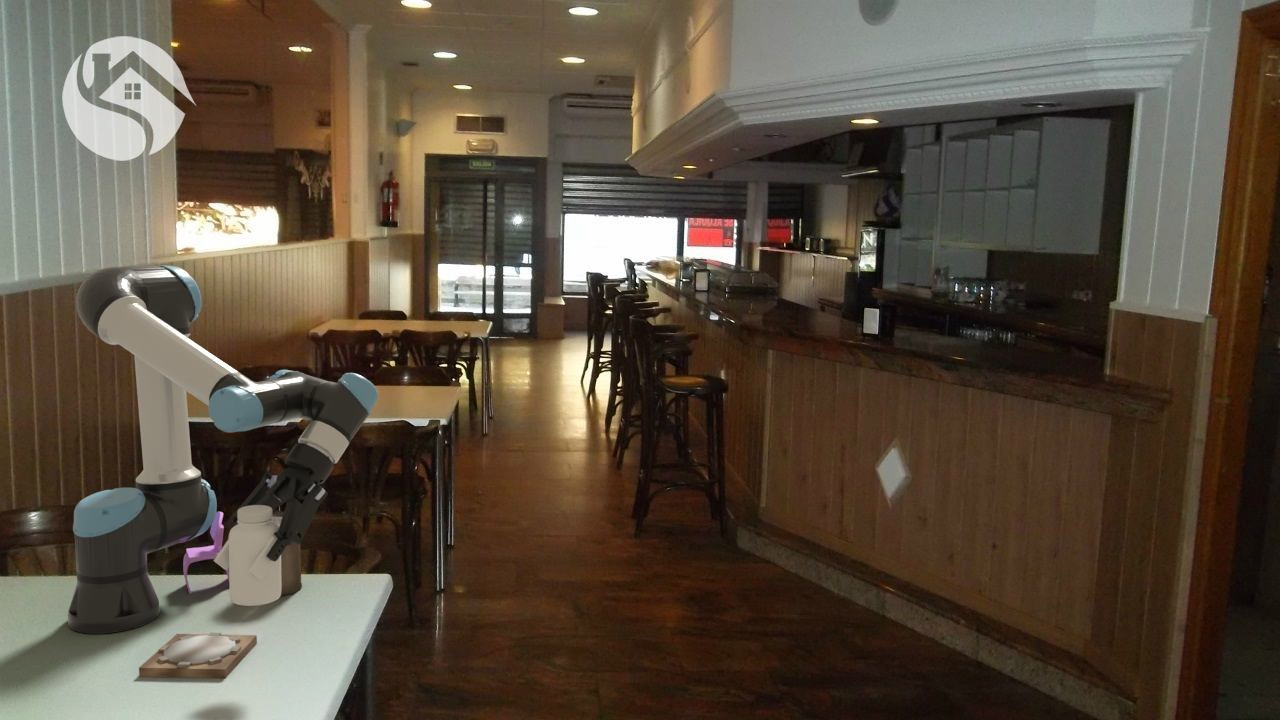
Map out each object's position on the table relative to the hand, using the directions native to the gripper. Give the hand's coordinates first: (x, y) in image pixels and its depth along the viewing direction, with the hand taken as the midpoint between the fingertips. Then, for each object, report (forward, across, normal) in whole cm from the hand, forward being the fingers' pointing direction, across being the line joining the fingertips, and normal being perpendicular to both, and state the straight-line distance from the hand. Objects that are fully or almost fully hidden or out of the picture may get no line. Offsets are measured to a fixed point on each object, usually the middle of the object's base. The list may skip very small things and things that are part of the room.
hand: (237, 570), depth 167 cm
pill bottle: (+2, 0, -6) cm, 7 cm away
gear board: (+12, +12, -14) cm, 22 cm away
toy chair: (-3, +42, -31) cm, 52 cm away
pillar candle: (-8, +29, -35) cm, 47 cm away
